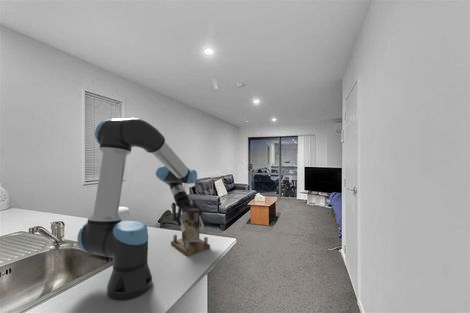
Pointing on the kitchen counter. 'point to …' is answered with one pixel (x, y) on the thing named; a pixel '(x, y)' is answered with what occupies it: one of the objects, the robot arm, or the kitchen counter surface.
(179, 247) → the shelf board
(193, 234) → the coffee box
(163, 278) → the kitchen counter surface
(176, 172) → the robot arm
